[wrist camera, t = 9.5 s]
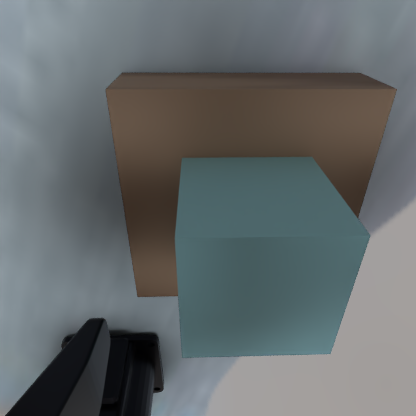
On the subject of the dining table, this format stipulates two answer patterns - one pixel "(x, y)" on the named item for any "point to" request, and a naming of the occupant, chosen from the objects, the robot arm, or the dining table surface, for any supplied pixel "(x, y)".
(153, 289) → the walnut base
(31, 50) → the dining table surface
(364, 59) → the dining table surface
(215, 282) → the block
